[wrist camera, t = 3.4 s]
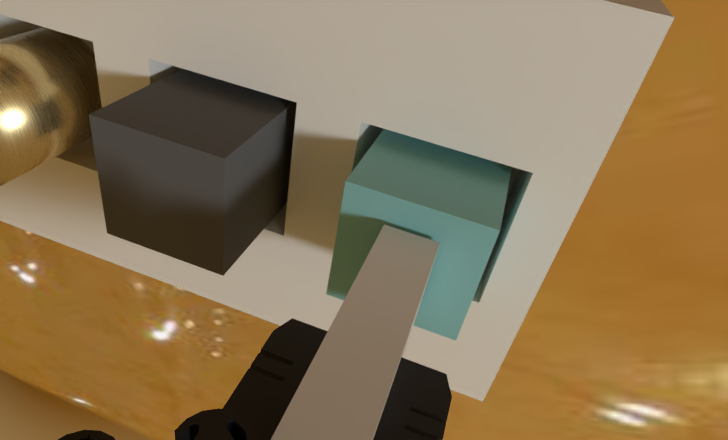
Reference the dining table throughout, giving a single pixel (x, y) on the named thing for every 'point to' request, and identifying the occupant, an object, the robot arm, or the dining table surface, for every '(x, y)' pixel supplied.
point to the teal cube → (423, 219)
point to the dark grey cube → (193, 166)
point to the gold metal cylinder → (44, 98)
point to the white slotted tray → (365, 131)
